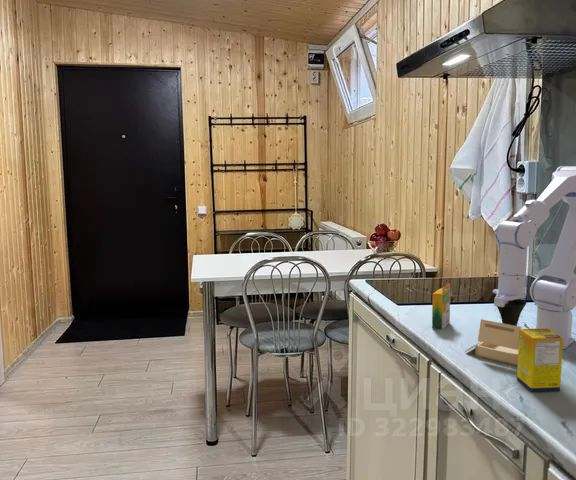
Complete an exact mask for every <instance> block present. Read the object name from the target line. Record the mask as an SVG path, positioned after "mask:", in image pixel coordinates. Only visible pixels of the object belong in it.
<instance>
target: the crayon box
mask: <svg viewBox="0 0 576 480" xmlns="http://www.w3.org/2000/svg"><path fill="white" fill-rule="evenodd" d="M431 301H432V302H431V303H432V304H431V305H432V307H431V309H432V310H431V311H432V313H431V317H432V318H431V323H432V325H431V328H432V329H435V328H436V329H437V330H443V329H444V328H445V327H447V325H449V324H450V323H451V320H450V317H451V314H450V313H451V282H450V283H447V284H446V285H445V286H443V287H441V288H439V289H437V290H436V291H435V292H433V293H432V300H431Z"/></svg>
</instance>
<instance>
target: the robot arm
mask: <svg viewBox="0 0 576 480" xmlns="http://www.w3.org/2000/svg"><path fill="white" fill-rule="evenodd" d="M559 201H563V202H564V203H566V204H568V206H569V207H568V212H567V213H566V217H565V220H564V224H563V226H562V229H561V232H560V235H559V238H558V241H557V243H556V247H555V250H554V253H553V256H552V259H551V262H550V264H549V265H548V266H547V267H545V268H543V269H541V270H539V271H538V272H537V274H536V275H537V276H536V278H535V279H534V280H533V282H532V283H531V285H530V287H529V294H530V298H531V300H532V301H533V302H534V305H535V306H536V307H537V308H536V321H535V323H536V324H535V329H540V328H548V329H550V330H551V331H553V332H555V333H557V334H558V335H560V336H562V337H563V346H562V350H565V349H567V348H568V347H569V346H570V345H571V344H572V343H574V341H576V338H575V337H572V329H573V312H572V311H573V310H574V309H575V308H576V274H575V273H574V271H575V268H576V166H573V165H571V166H566V165H560V166H559V167H557V168H556V170H555V171H554V172H552V175H551V181H550V183H549V184H548V185H547V187H546V188H545V189H544V191H542V192H541V194H540V195H539V196H538V197H537V199H531V200H526V201H525V203H524V205H523V206H522V207H521V208H520V209H519V210H518V211H517V212H516V213H515V214H514V215H513V216H512V217H511V218H510V219H509V220H503V221H502V222H501V223H499V224H498V225H497V226H496V229H495V232H494V233H493V234H494V235H493V236H494V240H495V243H496V245H497V251H498V253H499V257H498V259H499V262H498V278H497V279H498V284H497V288H494V289H493V290H492V293H493V294H495V297H494V301H493V304H494V305H493V306H494V307H496V308H497V310H498V312H499V315H500V319H501V323H504V324H509V325H514V326H518V322H519V320H520V317H521V314H522V312H523V310H524V308H525V307H526V305H527V301H526V300H524V299H525V298H526V296H527V290H528V287H526V281H527V280H526V279H527V261H528V258H527V257H528V247H530V246H531V245H532V244H533V242H534V240H535V236H536V234H537V232H538V229H539V228H540V227H541V226H542V225H543V224H544V223H545V222H546V221H547V220H548V218H549V217H550V209H552V208H553V207H554V206H555V205H556V204H558V202H559ZM522 299H523V300H522Z"/></svg>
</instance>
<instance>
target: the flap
mask: <svg viewBox="0 0 576 480" xmlns="http://www.w3.org/2000/svg"><path fill="white" fill-rule="evenodd" d="M519 329H522V327H521V326H518V325H517V326H514V325H509V324H504V323H502V322H498V321H493V320H488V319H480V323H479V330H478V337H477V342H485V343H489V344H493V345H498V346H502V347H507V348H511V349H516V350H518V344H519Z"/></svg>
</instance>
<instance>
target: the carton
mask: <svg viewBox="0 0 576 480" xmlns="http://www.w3.org/2000/svg"><path fill="white" fill-rule="evenodd" d="M473 348H474V349H475V350H474V352H475V353H474V356H475V357H478V358H482V359H486V360H490V361H495V362H498V363H502V364H506V365H510V366H514V367H518V350H516V349H511V348H507V347H502V346H498V345H493V344H489V343H485V342H480V341H478V343H476V344H475V345H473V346H470V347H469V348H467V349H466V350H464V351H465V353H466V352H469V351H470V350H471V349H473Z"/></svg>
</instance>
